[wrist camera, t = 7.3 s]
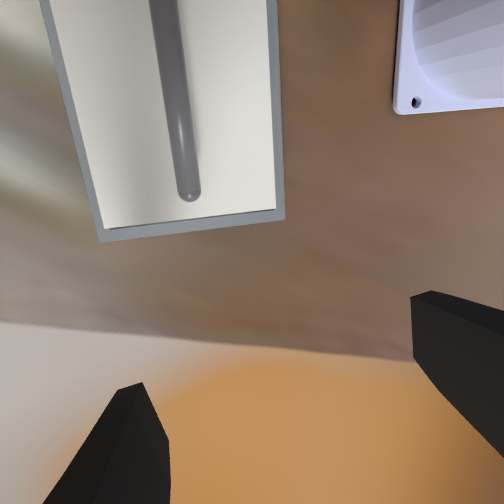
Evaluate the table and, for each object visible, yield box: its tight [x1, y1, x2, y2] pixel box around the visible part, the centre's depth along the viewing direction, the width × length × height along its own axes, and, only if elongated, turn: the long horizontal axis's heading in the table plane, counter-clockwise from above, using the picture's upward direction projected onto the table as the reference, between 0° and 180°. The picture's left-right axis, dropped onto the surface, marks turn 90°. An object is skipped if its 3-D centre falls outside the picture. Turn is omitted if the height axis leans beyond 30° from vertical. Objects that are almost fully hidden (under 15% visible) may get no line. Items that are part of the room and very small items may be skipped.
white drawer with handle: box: [49, 0, 276, 229], centre depth 11 cm, size 5×7×7 cm
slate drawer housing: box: [39, 0, 285, 243], centre depth 14 cm, size 8×10×2 cm
